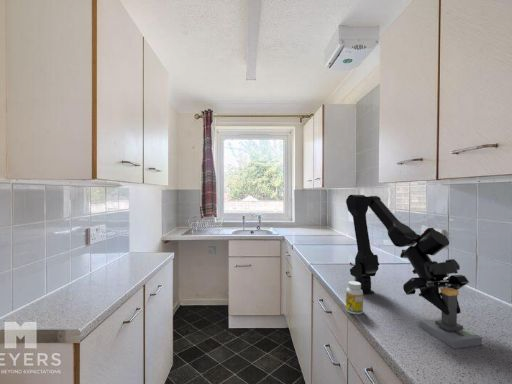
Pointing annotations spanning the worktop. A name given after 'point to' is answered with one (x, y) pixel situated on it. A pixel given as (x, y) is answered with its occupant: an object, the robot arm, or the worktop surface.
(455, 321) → the breaker handle
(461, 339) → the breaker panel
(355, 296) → the supplement bottle
